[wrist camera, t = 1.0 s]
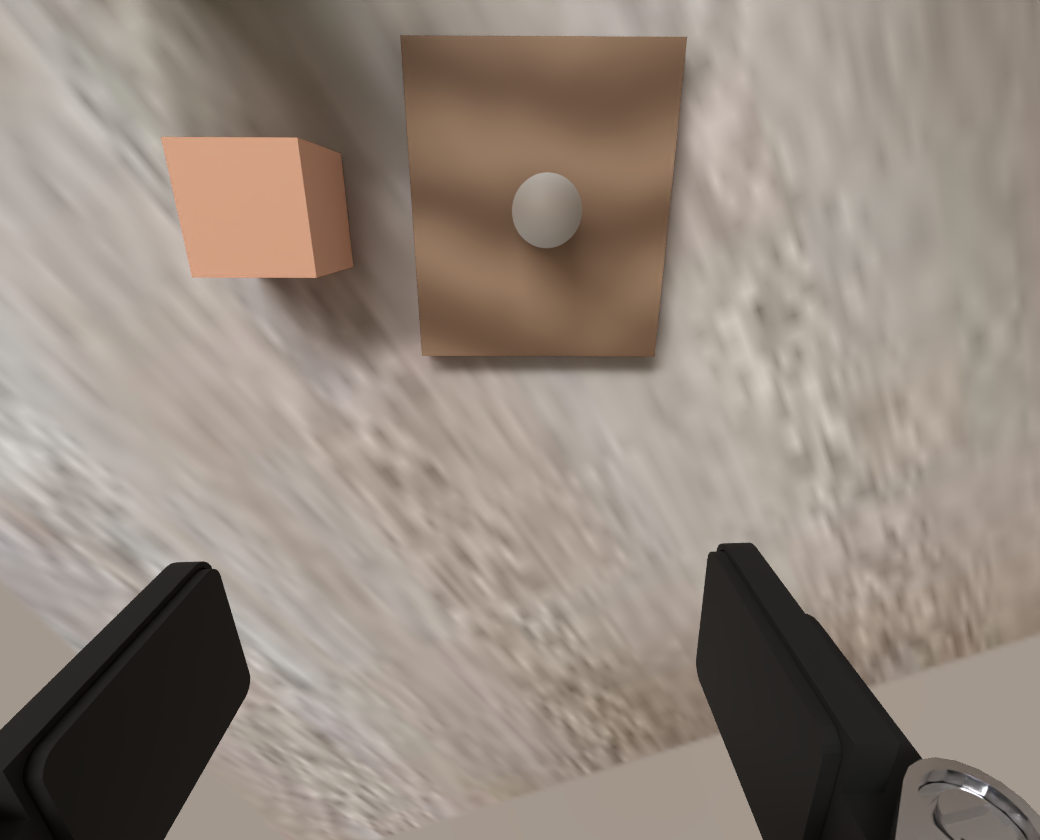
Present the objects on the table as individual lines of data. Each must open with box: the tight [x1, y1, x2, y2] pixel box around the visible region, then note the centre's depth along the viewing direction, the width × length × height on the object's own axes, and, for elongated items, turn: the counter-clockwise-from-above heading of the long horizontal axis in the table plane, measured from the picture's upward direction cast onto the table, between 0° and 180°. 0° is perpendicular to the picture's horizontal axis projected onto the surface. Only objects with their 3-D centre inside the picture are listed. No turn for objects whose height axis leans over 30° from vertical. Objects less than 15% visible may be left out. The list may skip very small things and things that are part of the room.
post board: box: [400, 35, 687, 356], centre depth 26 cm, size 16×14×8 cm
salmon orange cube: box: [161, 137, 353, 278], centre depth 27 cm, size 6×6×6 cm
